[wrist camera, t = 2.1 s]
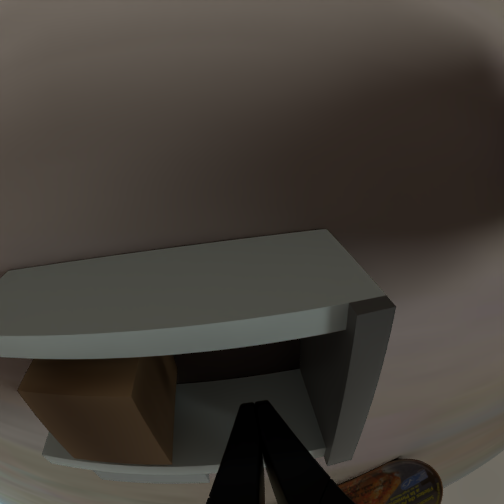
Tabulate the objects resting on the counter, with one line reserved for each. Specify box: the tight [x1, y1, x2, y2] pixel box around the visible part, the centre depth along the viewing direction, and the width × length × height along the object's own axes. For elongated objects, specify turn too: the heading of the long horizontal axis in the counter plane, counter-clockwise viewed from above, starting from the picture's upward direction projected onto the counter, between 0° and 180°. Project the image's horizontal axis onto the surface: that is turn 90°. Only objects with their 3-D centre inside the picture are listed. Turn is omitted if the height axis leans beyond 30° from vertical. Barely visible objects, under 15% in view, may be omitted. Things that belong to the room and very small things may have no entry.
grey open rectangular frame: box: [0, 229, 396, 475], centre depth 10 cm, size 13×8×5 cm, turn 95°
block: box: [17, 355, 178, 465], centre depth 10 cm, size 4×4×5 cm
